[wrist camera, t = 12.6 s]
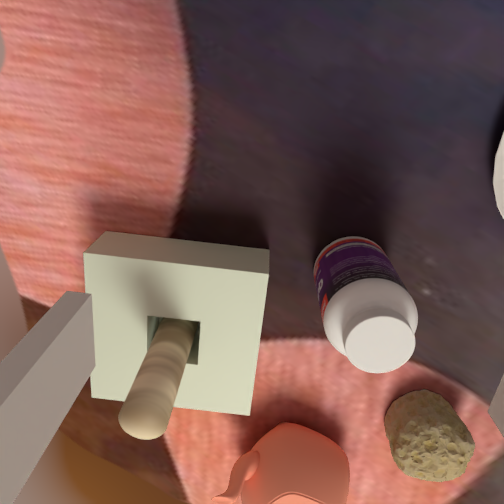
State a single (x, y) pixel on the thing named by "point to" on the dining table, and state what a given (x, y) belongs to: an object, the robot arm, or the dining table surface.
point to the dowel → (158, 380)
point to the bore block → (177, 314)
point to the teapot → (290, 470)
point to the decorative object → (428, 437)
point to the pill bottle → (365, 305)
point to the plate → (499, 177)
